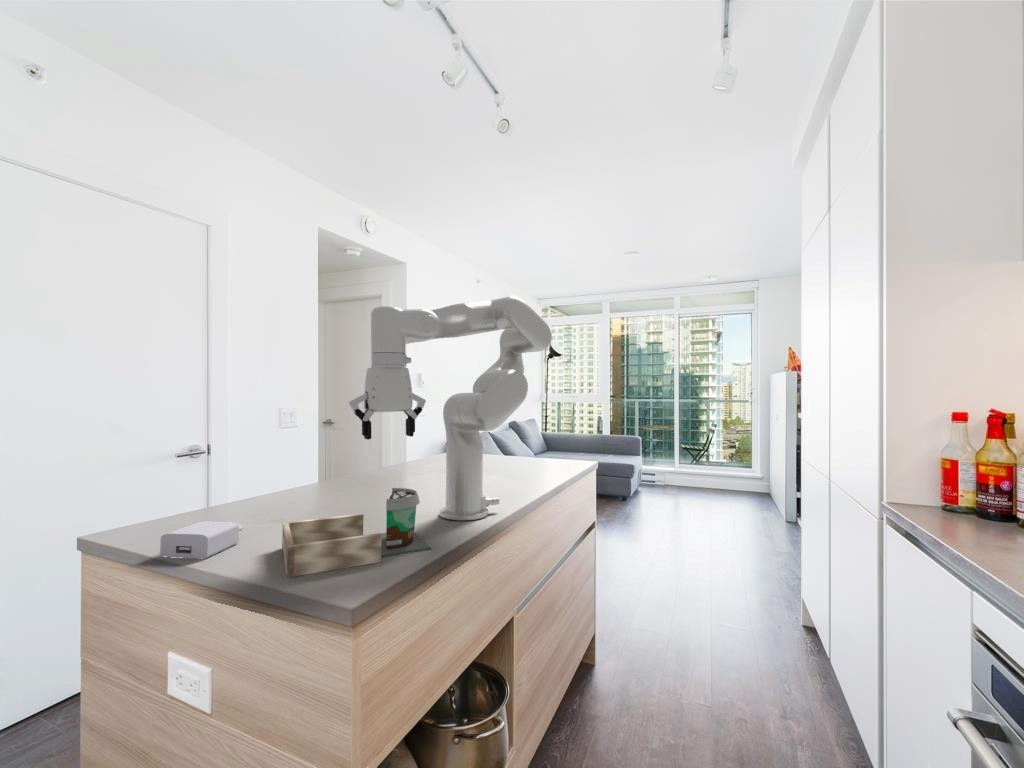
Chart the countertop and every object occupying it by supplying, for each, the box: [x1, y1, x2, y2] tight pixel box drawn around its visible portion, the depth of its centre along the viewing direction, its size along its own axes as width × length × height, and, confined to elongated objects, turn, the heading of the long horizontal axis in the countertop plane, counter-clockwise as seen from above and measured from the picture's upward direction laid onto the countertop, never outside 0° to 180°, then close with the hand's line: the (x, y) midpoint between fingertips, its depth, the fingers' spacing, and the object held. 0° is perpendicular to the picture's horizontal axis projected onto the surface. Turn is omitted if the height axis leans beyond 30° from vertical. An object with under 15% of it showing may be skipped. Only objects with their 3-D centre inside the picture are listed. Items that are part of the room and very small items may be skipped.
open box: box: [281, 513, 382, 578], centre depth 87 cm, size 16×17×5 cm
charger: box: [159, 520, 244, 560], centre depth 92 cm, size 5×9×15 cm
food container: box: [385, 487, 420, 550], centre depth 94 cm, size 12×6×10 cm, turn 9°
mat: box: [380, 532, 432, 558], centre depth 94 cm, size 10×14×1 cm
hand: (389, 437), depth 103 cm, fingers open, 9 cm apart
